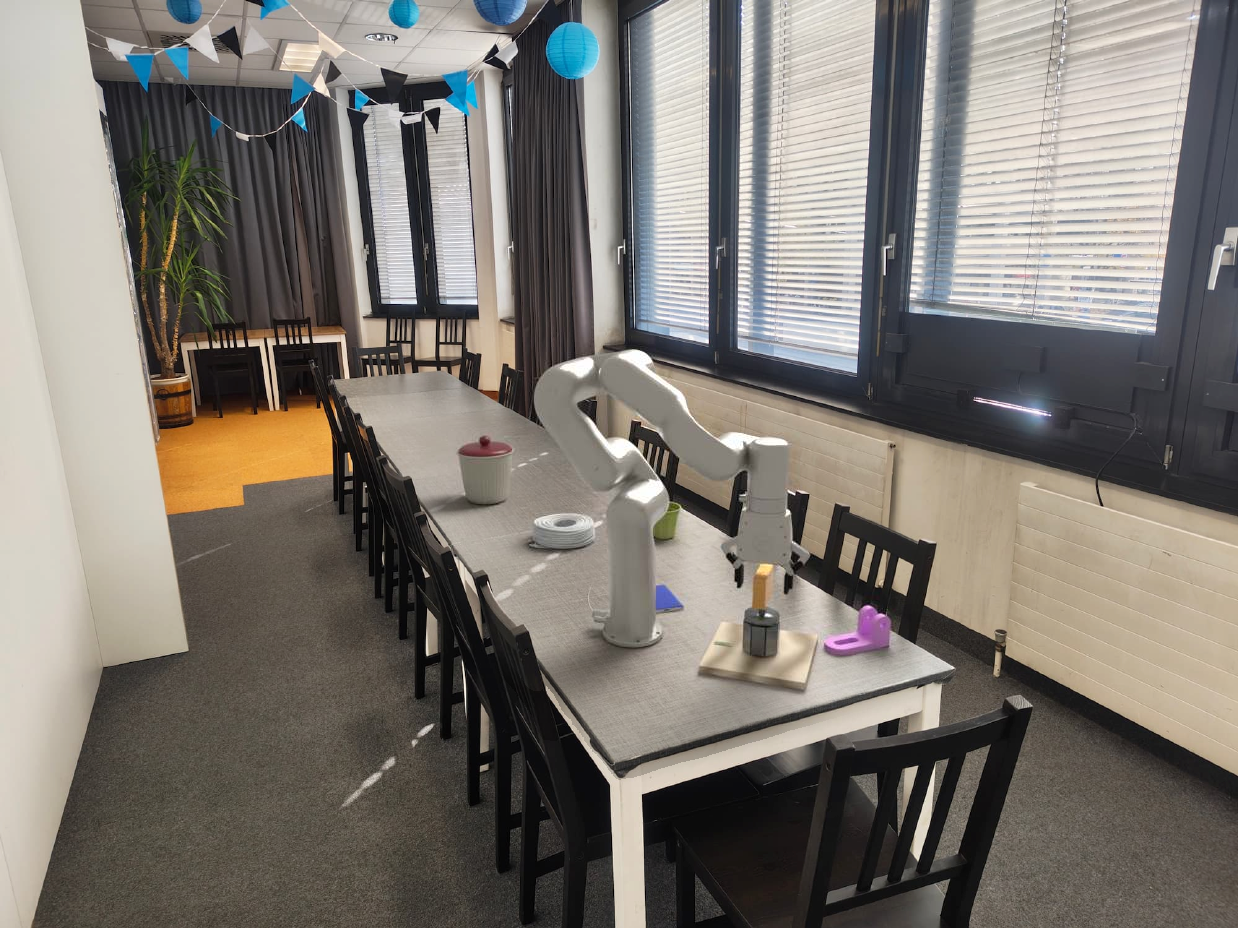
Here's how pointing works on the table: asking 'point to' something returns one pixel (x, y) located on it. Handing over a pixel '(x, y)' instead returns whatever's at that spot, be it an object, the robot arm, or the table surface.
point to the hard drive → (666, 600)
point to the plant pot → (667, 522)
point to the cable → (562, 531)
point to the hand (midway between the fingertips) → (763, 588)
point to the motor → (761, 617)
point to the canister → (486, 470)
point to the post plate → (760, 658)
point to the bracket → (862, 634)
